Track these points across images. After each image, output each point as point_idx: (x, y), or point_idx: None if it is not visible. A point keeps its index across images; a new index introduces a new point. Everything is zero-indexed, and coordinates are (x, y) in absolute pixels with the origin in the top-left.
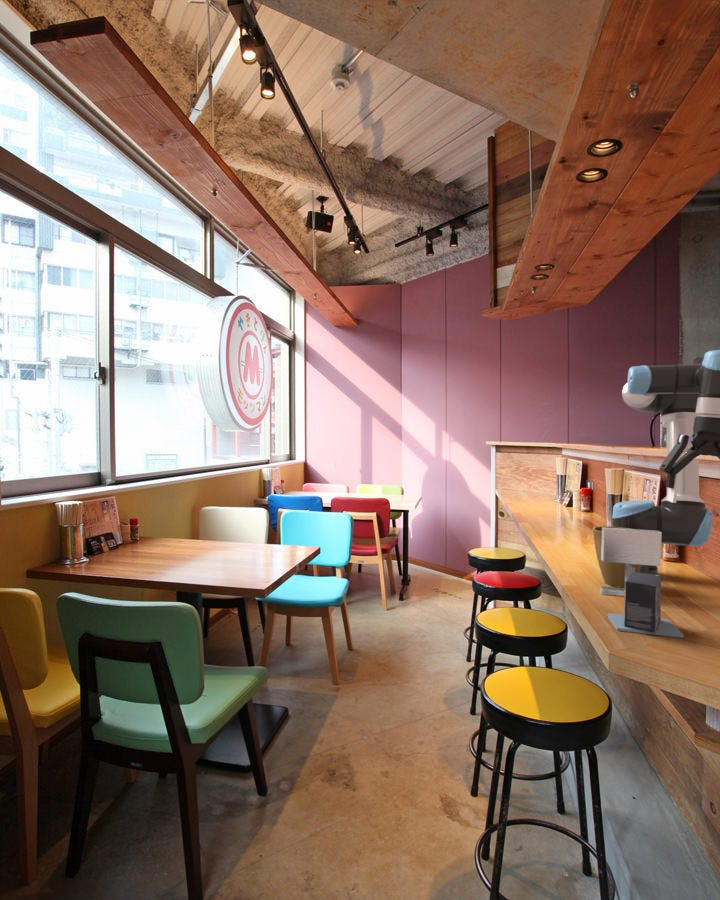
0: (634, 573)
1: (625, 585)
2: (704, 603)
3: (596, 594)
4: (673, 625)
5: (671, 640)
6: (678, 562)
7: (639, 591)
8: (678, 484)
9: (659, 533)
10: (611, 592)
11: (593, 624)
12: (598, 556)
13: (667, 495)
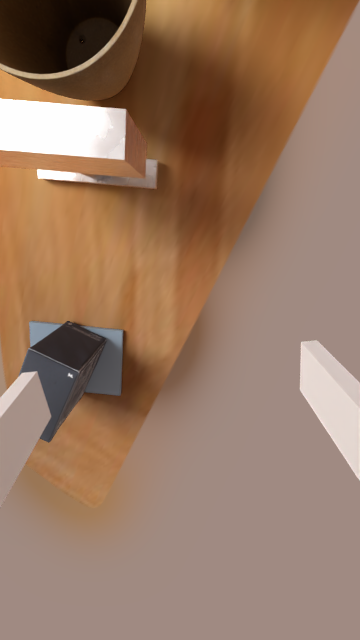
0: (29, 366)
1: None
2: (245, 191)
3: (32, 183)
4: (119, 359)
5: (100, 405)
6: None
7: None
8: (7, 490)
9: (117, 160)
10: (60, 180)
11: (5, 366)
12: (7, 30)
13: (9, 387)
